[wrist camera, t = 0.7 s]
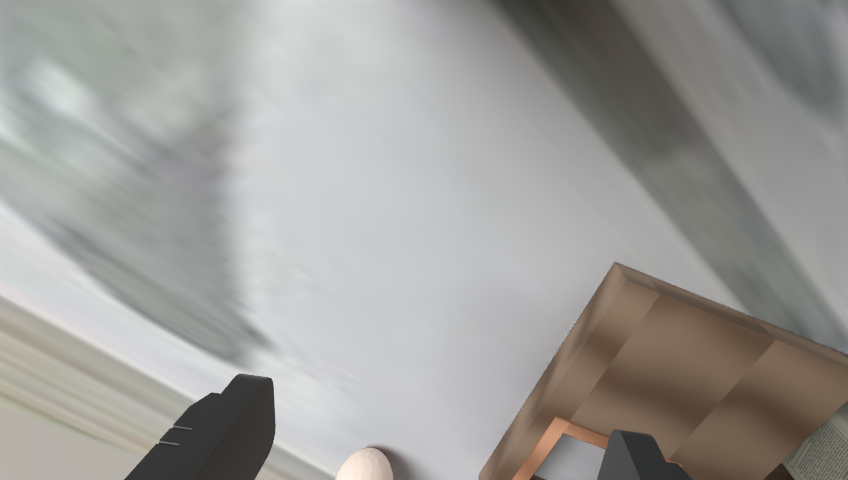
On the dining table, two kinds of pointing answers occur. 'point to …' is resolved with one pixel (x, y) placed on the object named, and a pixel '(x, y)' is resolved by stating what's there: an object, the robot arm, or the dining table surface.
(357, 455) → the egg
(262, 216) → the dining table surface
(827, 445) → the skincare box
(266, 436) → the robot arm
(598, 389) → the socket board
